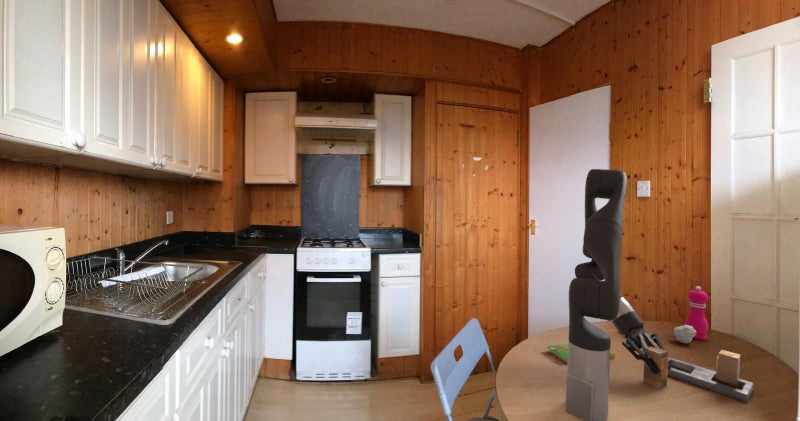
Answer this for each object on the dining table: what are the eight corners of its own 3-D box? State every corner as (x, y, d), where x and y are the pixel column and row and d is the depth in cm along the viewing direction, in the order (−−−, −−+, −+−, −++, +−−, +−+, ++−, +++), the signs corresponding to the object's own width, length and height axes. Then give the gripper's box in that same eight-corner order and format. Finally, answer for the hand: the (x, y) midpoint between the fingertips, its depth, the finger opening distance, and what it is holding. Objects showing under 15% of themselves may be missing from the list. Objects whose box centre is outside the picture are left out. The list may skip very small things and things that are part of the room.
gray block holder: (752, 389, 98) (754, 355, 98) (746, 402, 92) (748, 365, 92) (666, 362, 114) (668, 332, 113) (656, 371, 108) (658, 339, 107)
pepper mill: (699, 341, 132) (701, 289, 131) (679, 333, 139) (681, 284, 138) (712, 339, 134) (715, 288, 133) (692, 332, 141) (695, 283, 140)
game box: (615, 362, 116) (563, 365, 111) (592, 349, 126) (544, 352, 120) (615, 352, 116) (564, 355, 111) (593, 341, 126) (544, 343, 120)
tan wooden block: (659, 389, 98) (660, 354, 97) (643, 381, 102) (644, 348, 101) (668, 386, 99) (669, 352, 99) (651, 378, 103) (653, 345, 103)
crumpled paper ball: (690, 348, 126) (691, 329, 125) (669, 340, 132) (669, 322, 132) (699, 345, 128) (700, 326, 128) (678, 338, 134) (679, 320, 134)
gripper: (616, 312, 104) (657, 371, 93) (646, 307, 109) (689, 362, 99) (599, 324, 109) (637, 380, 98) (629, 318, 115) (667, 371, 104)
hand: (662, 371), depth 99 cm, fingers closed on tan wooden block, 4 cm apart
